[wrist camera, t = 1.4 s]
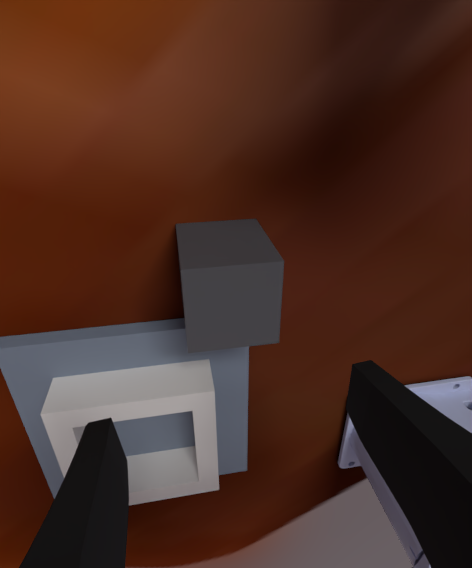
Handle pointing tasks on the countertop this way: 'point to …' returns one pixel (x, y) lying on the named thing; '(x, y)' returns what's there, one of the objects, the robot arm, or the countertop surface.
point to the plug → (229, 284)
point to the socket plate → (133, 403)
